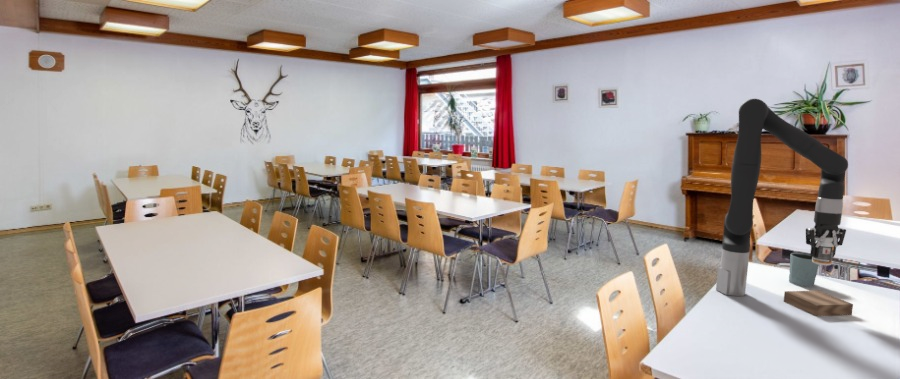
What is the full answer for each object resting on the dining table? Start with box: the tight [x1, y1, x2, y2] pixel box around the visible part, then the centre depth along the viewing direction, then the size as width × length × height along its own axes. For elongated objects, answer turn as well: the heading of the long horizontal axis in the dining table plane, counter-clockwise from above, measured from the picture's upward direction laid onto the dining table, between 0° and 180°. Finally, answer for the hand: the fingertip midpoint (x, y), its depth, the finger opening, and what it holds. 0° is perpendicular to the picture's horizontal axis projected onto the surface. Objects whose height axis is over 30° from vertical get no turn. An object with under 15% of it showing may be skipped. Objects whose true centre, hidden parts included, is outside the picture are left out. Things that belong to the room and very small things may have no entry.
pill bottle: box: [812, 237, 834, 266], centre depth 172 cm, size 6×6×10 cm
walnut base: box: [783, 290, 854, 317], centre depth 175 cm, size 14×14×4 cm
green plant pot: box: [788, 252, 820, 288], centre depth 202 cm, size 10×10×12 cm
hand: (822, 256), depth 173 cm, fingers closed on pill bottle, 5 cm apart
